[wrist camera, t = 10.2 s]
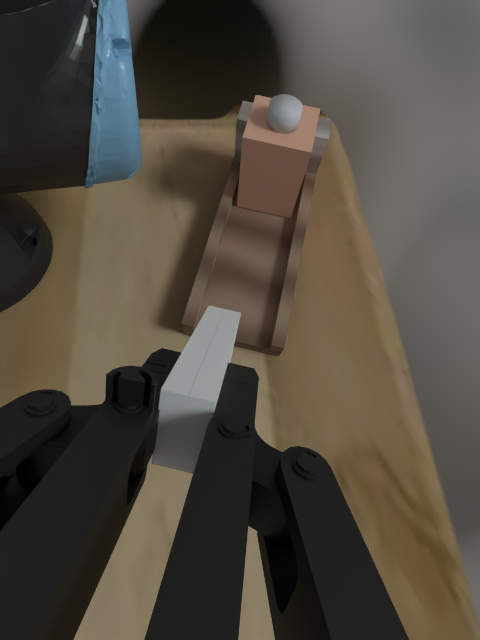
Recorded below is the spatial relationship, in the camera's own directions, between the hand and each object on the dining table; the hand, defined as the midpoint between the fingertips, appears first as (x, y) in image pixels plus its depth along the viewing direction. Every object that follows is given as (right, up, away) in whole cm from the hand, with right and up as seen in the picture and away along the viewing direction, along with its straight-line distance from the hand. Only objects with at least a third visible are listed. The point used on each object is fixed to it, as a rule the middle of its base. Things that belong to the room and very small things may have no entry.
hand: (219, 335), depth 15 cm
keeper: (+4, +16, +24) cm, 29 cm away
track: (+3, +10, +23) cm, 25 cm away
